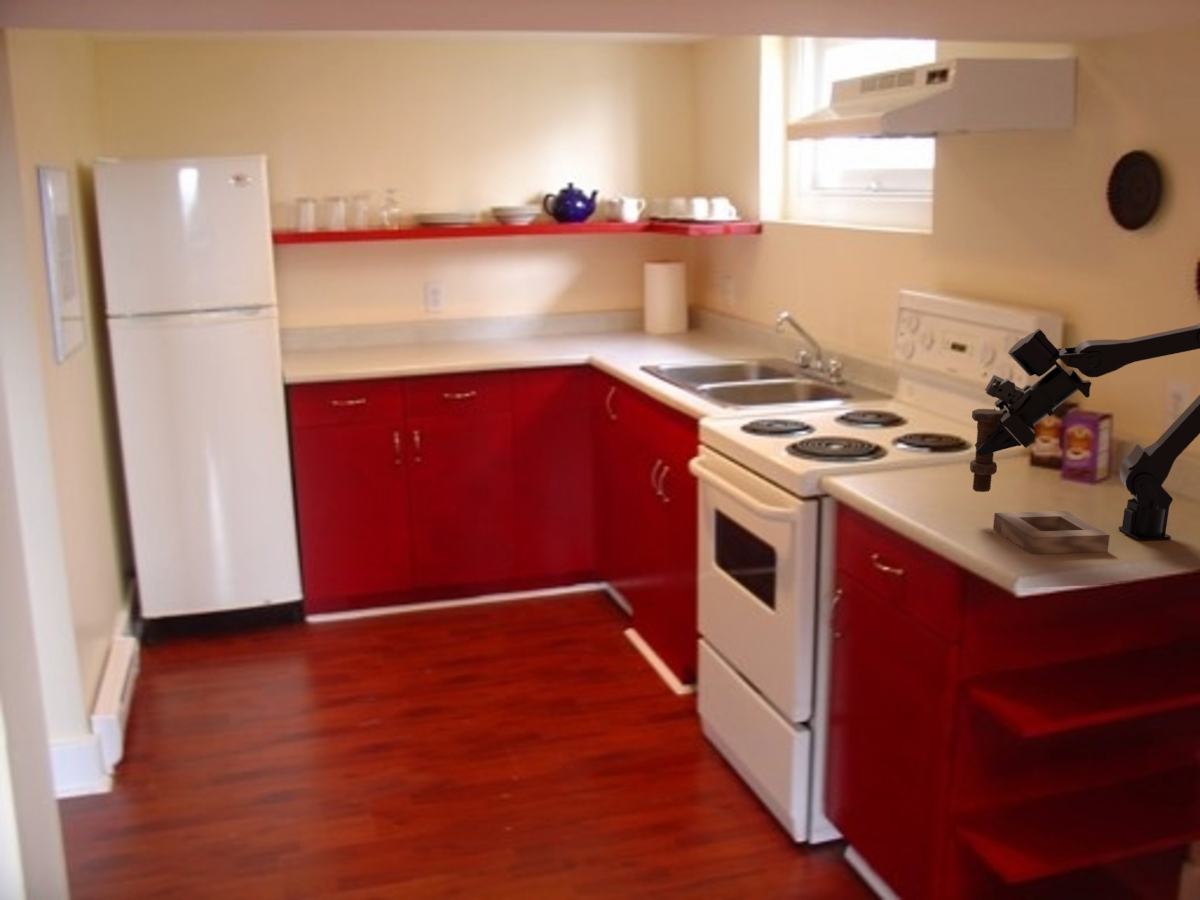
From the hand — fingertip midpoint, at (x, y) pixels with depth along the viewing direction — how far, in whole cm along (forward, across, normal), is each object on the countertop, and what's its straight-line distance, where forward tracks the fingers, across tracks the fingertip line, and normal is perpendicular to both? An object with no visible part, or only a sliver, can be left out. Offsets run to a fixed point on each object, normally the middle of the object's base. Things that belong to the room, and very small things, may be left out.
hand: (977, 450), depth 211 cm
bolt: (+5, 0, +6) cm, 8 cm away
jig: (+1, +8, +19) cm, 20 cm away
